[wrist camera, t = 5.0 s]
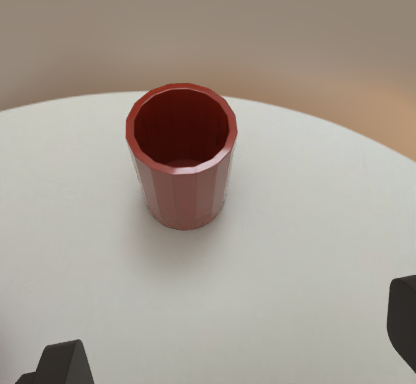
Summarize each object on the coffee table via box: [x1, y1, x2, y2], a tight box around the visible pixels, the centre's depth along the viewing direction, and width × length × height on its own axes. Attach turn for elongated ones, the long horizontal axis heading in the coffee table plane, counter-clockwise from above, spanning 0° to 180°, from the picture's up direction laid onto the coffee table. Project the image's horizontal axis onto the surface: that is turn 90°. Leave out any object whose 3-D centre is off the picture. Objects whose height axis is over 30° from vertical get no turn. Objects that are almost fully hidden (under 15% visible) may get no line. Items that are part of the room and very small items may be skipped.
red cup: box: [126, 83, 238, 230], centre depth 23 cm, size 6×6×8 cm
